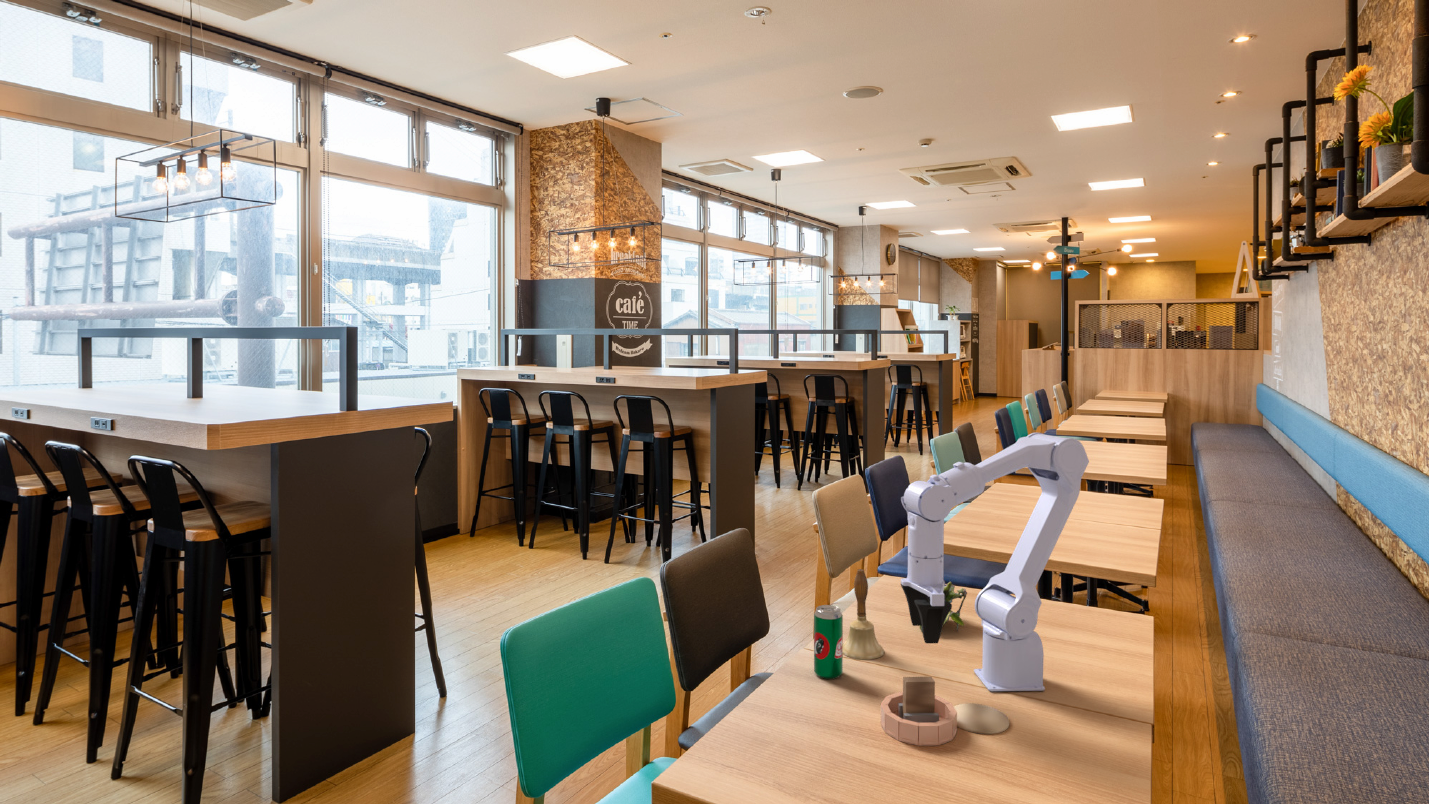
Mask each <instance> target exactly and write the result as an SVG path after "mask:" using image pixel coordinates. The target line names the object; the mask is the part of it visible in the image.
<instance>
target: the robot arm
mask: <svg viewBox="0 0 1429 804" xmlns="http://www.w3.org/2000/svg"><path fill="white" fill-rule="evenodd" d="M1089 463H1090V460H1089V458H1088V454H1087V452H1086V448H1085V447H1084V445H1083V443H1082V442H1081V441H1080V440H1078V439H1076V438H1073V437H1070V438H1069V437H1062V436H1061V437H1060V436H1055V435H1049V434H1044V433H1042V432H1032V433H1030V434H1028V435H1027V436H1022V437H1019V438H1018V439H1017V441H1016V442H1015V443H1013V444H1011V445H1009V446H1007V447H1006V448H1004V449H1003V450H1000V451H999V452H997V453H995V454H993V455H992V456H990V457H987V458H986V459H984V460H982V461H981V462H979V463H977V464H972V463H971V462H962V461H957V462H955V463H953V464H952V466H953V468H950V469H948V470H946V471H944V472H942V473H939V474H931V475H929V479H928V480H927V481H924V480H915V481H913V482H912V483H910V484H909V485H908V487H907V488H906V489H905V491H904V493H903V496H901V497H900V501H901V504H902V505H901V506H903V508H904V510H905V511H906V514H907V523H908V525H907V576H906V578H904V577H903V578H900V587H901V589H902V592H903V594H905V595H904V596H905V599H906V602H907V606H908V612H909V616H910V621H911V625H912V626H915V627H916V626H917V627H920V626H922V632H921V633H922V637H923V638H922V639H923V641H924V643H925V644H938V643H939V641H940V637H941V634H942V631H943V626H944V625H945V624H944V621H945V619H946V617H947V615H948V613H949V612H950V610H951V611H952V609H953V608H952V607H953V605H952V603H950V602H949V601H947V602H944V593H943V590H944V584H945V580H944V556H945V555H944V545H945V544H944V541H945V540H944V539H945V538H944V537H945V535H944V534H945V533H944V532H945V519H946V518H947V517H948V516H949V514H950V512H951V511H952V509H953V508H954V507H956V506H958V505H961V504H962V503H964V502H966V501H968V500H970V499H972V498H974V497H976V496H978V495H981V494H982V493H983V492H984V490H985V489H986V488H985V487H986V484H988V483H990V482H991V481H995V480H997V479H1000V478H1002V477H1004V476H1007V475H1010V474H1012V473H1014V472H1016V471H1019V470H1022V469H1023V468H1028V470H1029V471H1030V473H1031V474H1032V476H1034V478H1035V479H1036V480H1037V482H1038V484H1039V487H1040V489H1041V494H1040V496H1039V498H1038V499H1037V502H1036V504H1035V507H1034V508H1033V510H1032V513H1031V514H1030V517H1029V519H1028V521H1027V523H1026V525H1025V527H1024V529H1023V531H1022V534H1021V536H1020V537H1019V540H1018V542H1017V544H1016V546H1015V549H1014V550H1013V552H1012V554H1011V556H1010V558H1009V561H1008V563H1007V564H1006V567H1005V569H1004V571H1003V572H1000V573H998V574H995V575H993V576H992V577H990V578H989V581H988V583H987V584H986V586H984V587H983V589H981V590H980V591H979V592H978V594H977V596H976V597H975V600H974V611H975V613H976V615H977V616H978V617H979V618H980V619H981V620H980V621H981V627H982V660H981V661H982V663H981V664H982V667H981V668H974V669H973V672H974V673H975V675H976V676H977V677H978V678H979V680H980V681H981V682H982V683H983V686H985V688H986V689H987V690H988V691H989V692H1022V691H1023V692H1025V691H1026V692H1029V691H1030V692H1031V691H1037V692H1038V691H1041V692H1042V691H1045V686H1044V656H1045V655H1044V646H1043V641H1042V639H1041V637H1040V635H1039V633H1037V632H1036V631H1034V630H1035V629H1036V627H1037V624H1038V620H1039V619H1038V617H1039V616H1038V615H1039V611H1040V608H1041V606H1042V600H1041V598H1040V595H1039V593H1038V591H1037V584H1038V583H1039V580H1040V578H1041V576H1042V574H1043V572H1044V569H1045V567H1046V566H1047V563H1048V562H1049V559H1050V557H1051V555H1052V553H1053V551H1054V549H1055V547H1056V545H1057V542H1058V540H1059V538H1060V536H1061V534H1062V532H1063V529H1064V528H1065V526H1066V523H1067V521H1068V519H1069V518H1070V515H1071V513H1072V511H1073V509H1074V507H1075V504H1076V502H1077V501H1078V498H1079V495H1080V489H1081V483H1082V478H1083V475H1084V474H1085V471H1086V469H1087V467H1088V465H1089ZM1012 594H1013V595H1014V596H1013V595H1012ZM943 624H944V625H943Z"/></svg>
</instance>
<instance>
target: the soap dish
mask: <svg viewBox="0 0 1429 804" xmlns="http://www.w3.org/2000/svg"><path fill="white" fill-rule="evenodd" d="M880 724H881V725H880V726H881V728H882V730H883V732H885V734H886V735H888V736H890V737H891V738H893V739H895V740H897V741H898V742H902V743H905V744H909V745H913V746H920V747H921V746H922V747H932V746H933V747H935V746H940V745H944V744H947V743H949V742H951V741H953V740H954V738H955V737H956V736H957V730H958V726H957V711H956V710H955V708H954V705H953V703H951V702H950V701H948V700H946V699H944V698H942V697H940V695H939V696H938V695H937V694H935V713H904V718H903V691H898V692H895V693H892V694H889V695H886V696H885V697H884V699H883V700H882V702H881V703H880Z"/></svg>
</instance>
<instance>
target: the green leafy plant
mask: <svg viewBox="0 0 1429 804" xmlns="http://www.w3.org/2000/svg"><path fill="white" fill-rule="evenodd" d="M955 588H956V586H955V585H954V584H953V583H952V581H949V582H948V583H944V590H943V593H944V602H947V601H949V602H950V603H951V604H952V603H953V601H954V600H955V599H962V600H961V601H960V602H961V603H960V605H959V607H958V610H957V611H953V610H952V609H951V610H950V612H949V613H948V615H947V617H946V619H945V621H944V624H943V626H944V625H945V624H946V623H948V622H949V619H951V620H952V621H953V622H954V623H956V632H957V631H958V632H959V626H962V627H963V626H965V623H964V621H963V620H962V618H961V609H962V607H963V605H964V601H965V600H966V597H967V595H968V592H967V590H966V588H963V587H961V588H960V589H956V592H955ZM919 629H920V632H921V633H923V632H922V626H919Z"/></svg>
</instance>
